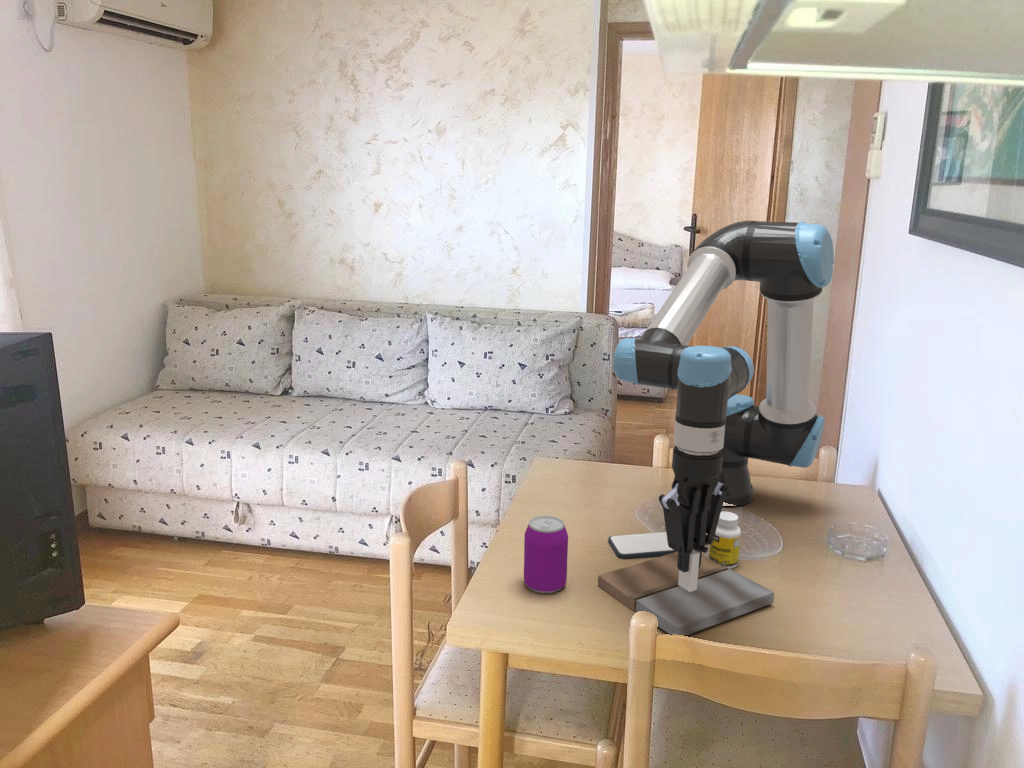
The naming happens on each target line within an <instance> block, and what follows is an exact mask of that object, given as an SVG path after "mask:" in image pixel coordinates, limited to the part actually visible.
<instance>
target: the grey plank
mask: <svg viewBox="0 0 1024 768" xmlns="http://www.w3.org/2000/svg"><path fill="white" fill-rule="evenodd" d="M774 599H775V592H774V591H773V590H771V589H769V588H767V587H765V586H763V585H762V584H759V583H757V582H755V581H754V580H752V579H750V578H748V577H746V576H745V575H743V574H741V573H739V572H737V571H736V570H734V569H728V570H726V571H723V572H720V573H717V574H714V575H711V576H708V577H705V578H702V579H699V580H697V590H695V591H692V592H689V591H687V590H686V589H684V588H682V587H681V586H678V587H675V588H672V589H669V590H666V591H663V592H660V593H657V594H654V595H651V596H648V597H645V598H642V599H639V600H636V611H635V612H636V613H638V612H637V611H646V612H650V613H652V614H654V615H655V616H656V617H657V620H658V626H657V627H658V628H660V629H662V631H664V632H665V633H667V634H669V635H670V634H677V635H687V636H690V635H692V634H694V633H696V632H699V631H702V630H705V629H708V628H710V627H712V626H716V625H719V624H721V623H724V622H727V621H729V620H732V619H734V618H737V617H739V616H742V615H745V614H747V613H750V612H753V611H756V610H759V609H761V608H764V607H766V606H769V605H772V604H773V603H774Z"/></svg>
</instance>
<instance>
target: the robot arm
mask: <svg viewBox="0 0 1024 768" xmlns="http://www.w3.org/2000/svg"><path fill="white" fill-rule="evenodd" d="M834 257H835V255H834V245H833V240H832V235H831V233H830V231H829V230H828V228H827V227H826V226H824V225H822V224H819V223H818V224H817V223H808V222H805V221H800V222H792V221H791V222H790V221H763V220H762V221H761V220H742V221H737V222H733V223H731V224H728V225H726V226H723V227H721V228H720V229H718V230H716V231H714V232H713V233H712V234H710V235H708V236H707V237H706V238H705V239H703V240H702V241H701V242H700V243H699V244H698V245H697V246H696V248H695V249H694V250H693V251H692V252H691V254H690V255H689V257H688V260H687V263H686V264H687V265H686V266H687V267H686V268H687V269H686V271H685V272H684V274H683V275H682V277H681V278H680V280H678V282H677V284H676V286H675V287H674V288H673V290H672V291H671V293H670V294H669V295H668V297H667V299H666V300H665V302H664V303H663V305H662V306H661V307H660V308H659V310H658V312H657V313H656V315H655V316H654V317H653V319H652V321H650V324H649V325H648V327H647V328H646V329H645V331H644V332H643V333H642V335H641V336H640V337H639V338H637V337H632V338H631V337H630V338H629V337H626V338H623V339H621V340H620V341H619V342H618V343H617V345H616V347H615V350H614V354H613V360H612V363H613V370H614V371H613V372H614V374H615V376H616V378H617V379H618V380H620V381H622V382H628V383H631V384H636V385H638V386H640V385H641V386H649V387H654V388H661V389H670V390H676V403H675V418H674V421H675V422H674V432H673V444H674V447H673V449H672V458H671V459H672V461H671V470H672V471H673V474H674V479H673V481H672V482H671V483H672V484H671V490H670V491H669V492H668V493H667V494H666V495H665V494H660V496H658V501H659V503H660V505H661V507H662V510H663V517H664V524H665V526H664V527H665V532H666V534H667V541H668V547H670V548H671V549H673V550H675V551H677V552H678V562H677V567H678V569H679V579H678V585H679V586H681V587H682V588H684V589H686V590H687V591H689V592H692V591H695V590H697V580H698V568H700V565H701V557H702V555H703V554H702V553H704V554H705V553H707V552H708V551H709V548H708V547H706V546H707V545H708V546H710V545H711V544H712V543H713V540H714V536H715V532H716V528H717V525H718V521H719V517H720V513H721V512H722V508H723V507H722V505H723V502H725V503H728V504H733V505H739V506H738V507H741V506H740V505H742V506H744V505H748V504H749V503H751V502H752V501H753V499H754V498H753V496H754V486H753V484H752V482H751V476H750V474H751V473H750V471H749V465H748V464H749V459H752V460H760V461H765V462H770V463H775V464H781V465H783V466H784V465H786V466H788V467H796V468H805V469H806V468H808V467H810V466H812V464H813V463H814V461H815V458H816V456H817V454H818V450H819V448H820V445H821V441H822V437H823V434H824V429H825V424H826V418H825V417H824V416H821V414H818V415H817V405H816V404H815V402H813V400H812V399H810V394H811V393H810V392H811V370H812V369H811V368H812V349H813V348H812V346H813V344H812V343H813V326H814V325H813V323H814V322H813V321H814V320H813V319H814V301H815V299H816V298H818V297H819V296H820V295H822V293H823V288H824V287H825V288H826V287H827V286H829V285H830V283H831V281H832V278H833V273H834V268H833V267H834V261H835V260H834ZM736 281H748V282H757V283H758V282H759V293H760V295H761V296H762V297H763V298H764V299H766V300H767V317H766V318H767V319H766V320H767V323H766V324H767V325H766V326H767V328H766V329H767V335H766V337H767V338H766V339H767V341H766V398H764V399H763V400H762V401H761V402H760V403H759V406H758V405H755V401H754V398H753V397H751V396H748V395H745V394H744V395H743V394H740V393H741V392H743V390H745V389H746V388H747V386H748V385H749V384H750V382H751V381H752V379H753V377H754V374H755V365H754V362H753V359H752V358H751V356H750V355H749V353H748V352H747V351H745V350H744V349H742V348H740V347H737V346H733V345H732V346H723V347H720V346H714V345H713V346H712V345H689V344H690V342H691V339H692V338H694V337H693V336H694V335H695V334H696V332H697V330H698V328H699V327H700V325H701V324H702V323H703V320H705V317H706V316H707V314H708V313H709V311H710V310H711V308H712V306H713V304H714V303H715V302H716V299H718V296H719V295H720V293H721V292H722V290H725V289H727V288H728V287H729V286H731V285H732V284H733V283H734V282H736ZM747 503H748V504H747Z"/></svg>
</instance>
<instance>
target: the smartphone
mask: <svg viewBox="0 0 1024 768" xmlns="http://www.w3.org/2000/svg"><path fill="white" fill-rule="evenodd" d="M607 543H608V544H609V546H610V548H611V549H612V551H613V553H614V554H615V556H616V558H618V559H621V560H635V559H648V558H649V559H651V558H652V559H653V558H658V557H661V556H664V555H668V554H671V553H674V552H677V551H675V550H673V549H671V548H670V547H668V541H667V534H666V531H657V532H645V533H633V534H632V533H630V534H621V535H619V534H618V535H617V534H616V535H611V536H608V539H607Z"/></svg>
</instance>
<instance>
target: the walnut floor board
mask: <svg viewBox="0 0 1024 768" xmlns="http://www.w3.org/2000/svg"><path fill="white" fill-rule="evenodd" d="M677 562H678V552H674V553H671V554H668V555H664V556H661V557H653V558H652V559H651V558H650V559H648V560H645V561H641V562H638V563H635V564H631V565H628V566H625V567H622V568H618V569H615V570H612V571H609V572H605V573H603V574H599V575H597V577H598V578H597V586H598V587H599V588H601V589H602V590H603V591H605V592H606V593H607V594H609V595H610V596H611V597H613V598H615V599H616V600H617V601H618V602H620V603H621V604H623V605H624V606H625V607H629V608H628V609H630V610H631V611H633V612H636V600H639V599H642V598H645V597H648V596H651V595H654V594H657V593H660V592H663V591H666V590H669V589H672V588H675V587H678V586H679V585H678V579H679V569H678V567H677ZM726 570H729V569H728V567H726V566H721V565H720V564H718V563H716V562H714V561H713V560H711V559H709V557H707V556H705V555H704V554H702V557H701V565H700V568H698V580H699V579H702V578H705V577H708V576H711V575H714V574H717V573H720V572H723V571H726Z"/></svg>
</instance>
